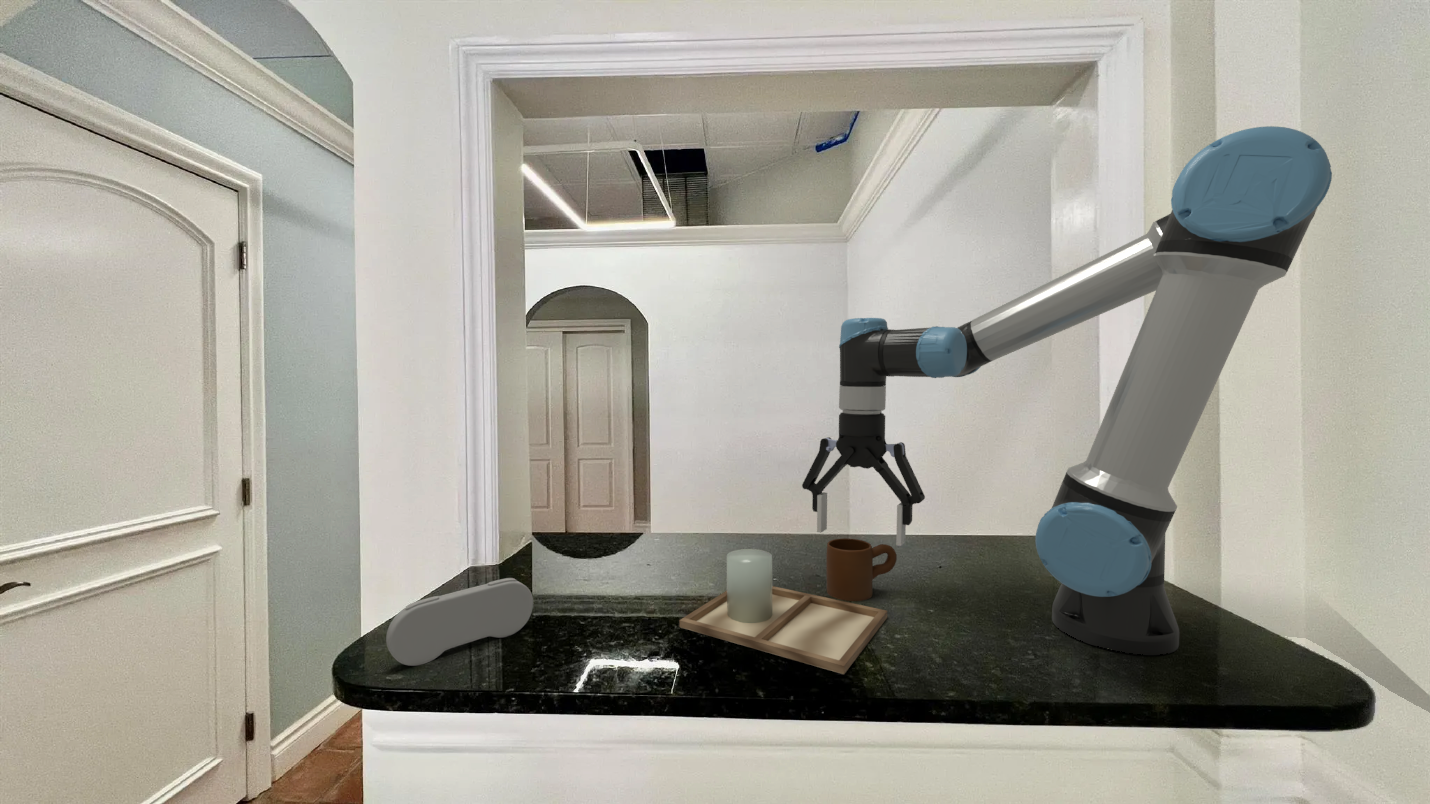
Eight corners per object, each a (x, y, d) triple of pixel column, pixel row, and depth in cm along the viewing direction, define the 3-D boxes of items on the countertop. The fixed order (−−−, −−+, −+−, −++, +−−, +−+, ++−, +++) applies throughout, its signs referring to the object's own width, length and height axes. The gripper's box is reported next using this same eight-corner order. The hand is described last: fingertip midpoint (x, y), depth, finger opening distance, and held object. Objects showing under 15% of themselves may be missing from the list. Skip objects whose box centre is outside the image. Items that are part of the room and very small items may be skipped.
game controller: (528, 623, 87) (526, 570, 87) (534, 628, 85) (533, 574, 85) (386, 669, 74) (383, 607, 73) (390, 675, 72) (388, 612, 72)
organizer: (887, 625, 85) (887, 610, 85) (844, 683, 69) (844, 666, 69) (743, 592, 98) (743, 579, 98) (679, 634, 82) (679, 620, 82)
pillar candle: (780, 610, 88) (779, 553, 87) (759, 627, 82) (758, 566, 82) (741, 600, 92) (741, 546, 91) (718, 616, 86) (718, 558, 85)
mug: (887, 588, 99) (887, 536, 99) (905, 606, 92) (905, 549, 91) (821, 591, 98) (821, 538, 98) (834, 609, 91) (834, 552, 90)
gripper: (945, 413, 90) (942, 543, 91) (802, 407, 104) (800, 521, 105) (936, 416, 84) (932, 556, 85) (784, 410, 97) (783, 530, 98)
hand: (859, 537), depth 95 cm, fingers open, 13 cm apart
